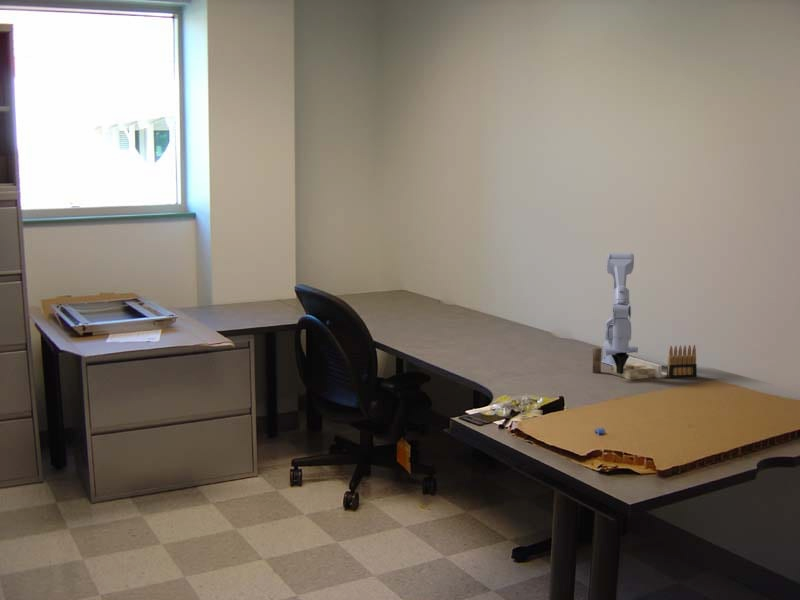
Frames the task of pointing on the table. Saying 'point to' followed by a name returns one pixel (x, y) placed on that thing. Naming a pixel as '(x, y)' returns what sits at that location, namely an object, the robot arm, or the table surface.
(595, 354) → the dowel
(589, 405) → the table surface
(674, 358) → the ammunition clip
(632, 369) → the block
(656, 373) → the white rectangular slab
